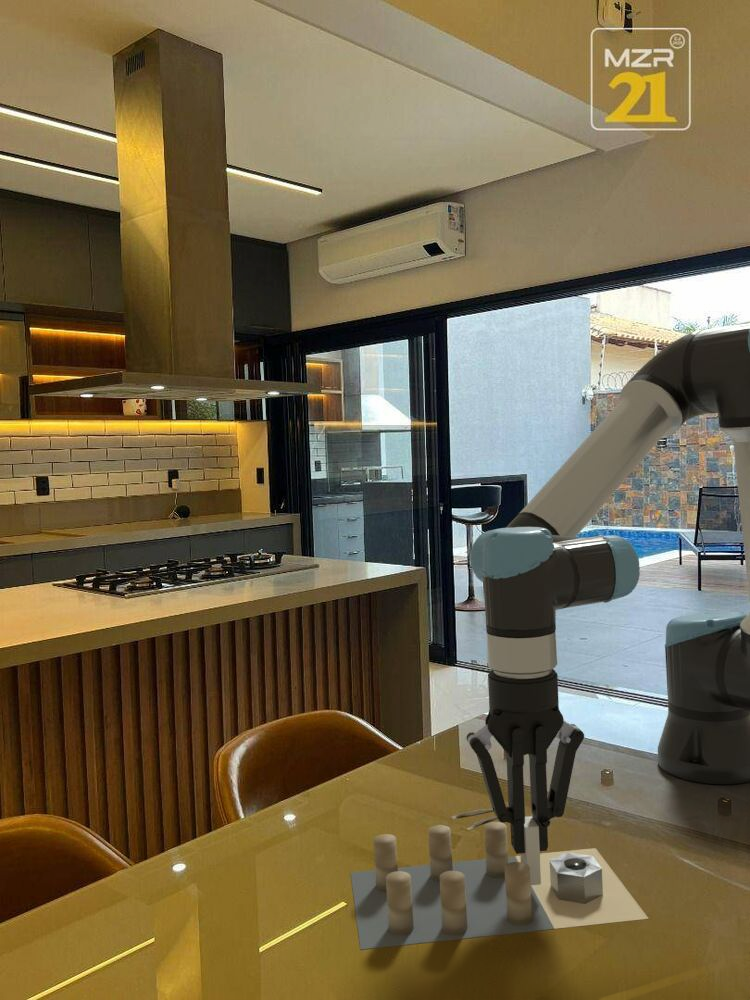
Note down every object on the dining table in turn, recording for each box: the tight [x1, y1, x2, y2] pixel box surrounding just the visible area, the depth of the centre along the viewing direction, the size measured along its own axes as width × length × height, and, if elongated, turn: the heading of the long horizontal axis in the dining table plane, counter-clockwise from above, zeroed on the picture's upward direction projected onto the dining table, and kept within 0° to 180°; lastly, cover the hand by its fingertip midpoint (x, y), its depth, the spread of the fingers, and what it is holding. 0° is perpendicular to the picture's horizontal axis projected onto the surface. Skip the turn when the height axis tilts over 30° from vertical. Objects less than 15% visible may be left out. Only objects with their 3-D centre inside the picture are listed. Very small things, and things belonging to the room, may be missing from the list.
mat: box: [349, 847, 649, 951], centre depth 96 cm, size 30×16×1 cm, turn 95°
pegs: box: [372, 821, 532, 935], centre depth 95 cm, size 16×14×6 cm
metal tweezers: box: [449, 808, 498, 831], centre depth 118 cm, size 17×5×2 cm, turn 116°
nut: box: [550, 852, 603, 904], centre depth 96 cm, size 5×6×3 cm
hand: (530, 878), depth 96 cm, fingers closed
